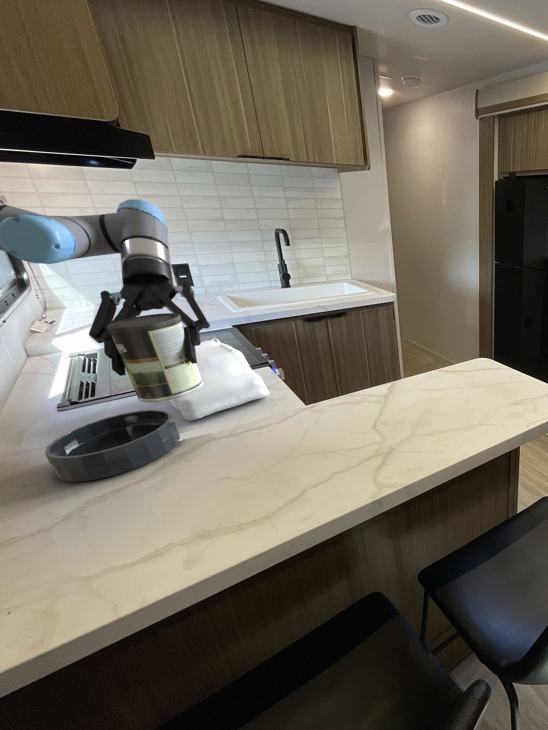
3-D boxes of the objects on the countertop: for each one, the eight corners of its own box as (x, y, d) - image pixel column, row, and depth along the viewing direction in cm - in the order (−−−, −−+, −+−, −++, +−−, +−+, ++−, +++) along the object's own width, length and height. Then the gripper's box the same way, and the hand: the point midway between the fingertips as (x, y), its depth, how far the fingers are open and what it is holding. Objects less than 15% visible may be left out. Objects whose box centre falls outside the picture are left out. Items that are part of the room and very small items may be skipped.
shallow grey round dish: (28, 487, 74) (13, 462, 72) (111, 434, 92) (101, 413, 90) (138, 477, 76) (126, 452, 74) (199, 427, 93) (191, 406, 91)
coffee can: (138, 408, 71) (104, 331, 65) (138, 391, 78) (108, 320, 73) (207, 390, 77) (182, 318, 71) (201, 376, 84) (178, 310, 79)
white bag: (236, 373, 126) (223, 332, 121) (273, 398, 107) (259, 350, 102) (161, 394, 113) (143, 349, 108) (187, 426, 94) (167, 373, 89)
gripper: (219, 274, 87) (234, 362, 80) (84, 287, 78) (87, 388, 71) (208, 250, 81) (223, 344, 74) (58, 261, 72) (59, 369, 65)
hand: (156, 366), depth 72 cm, fingers closed on coffee can, 10 cm apart
